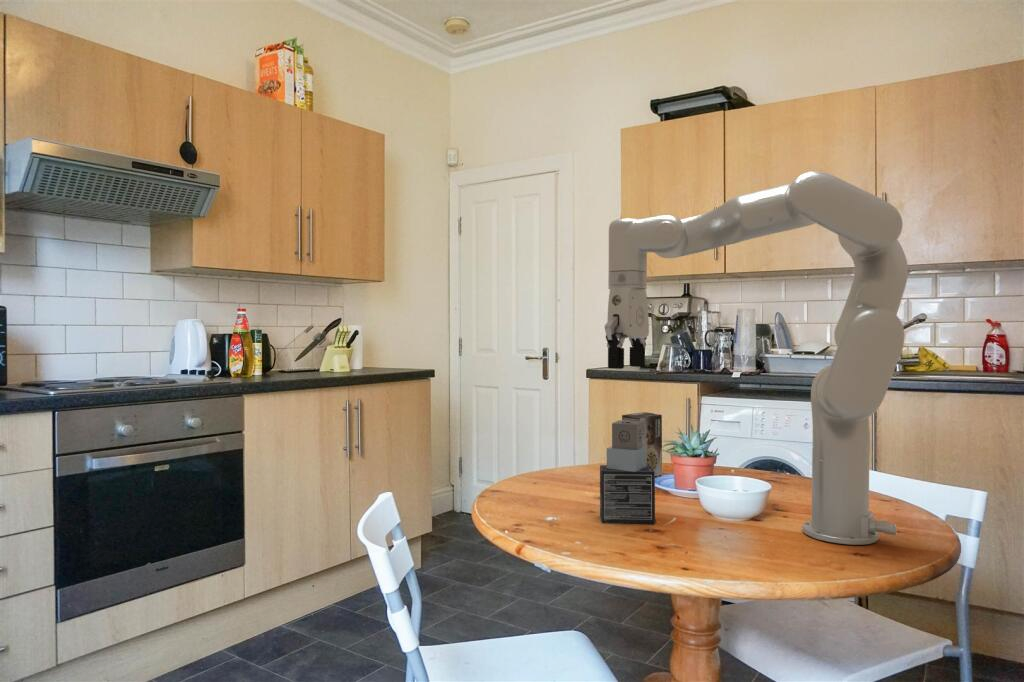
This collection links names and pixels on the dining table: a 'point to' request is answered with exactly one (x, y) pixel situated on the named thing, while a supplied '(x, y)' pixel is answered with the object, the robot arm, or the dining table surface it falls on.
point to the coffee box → (650, 437)
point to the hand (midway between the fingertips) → (626, 367)
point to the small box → (627, 496)
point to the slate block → (626, 459)
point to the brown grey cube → (627, 435)
